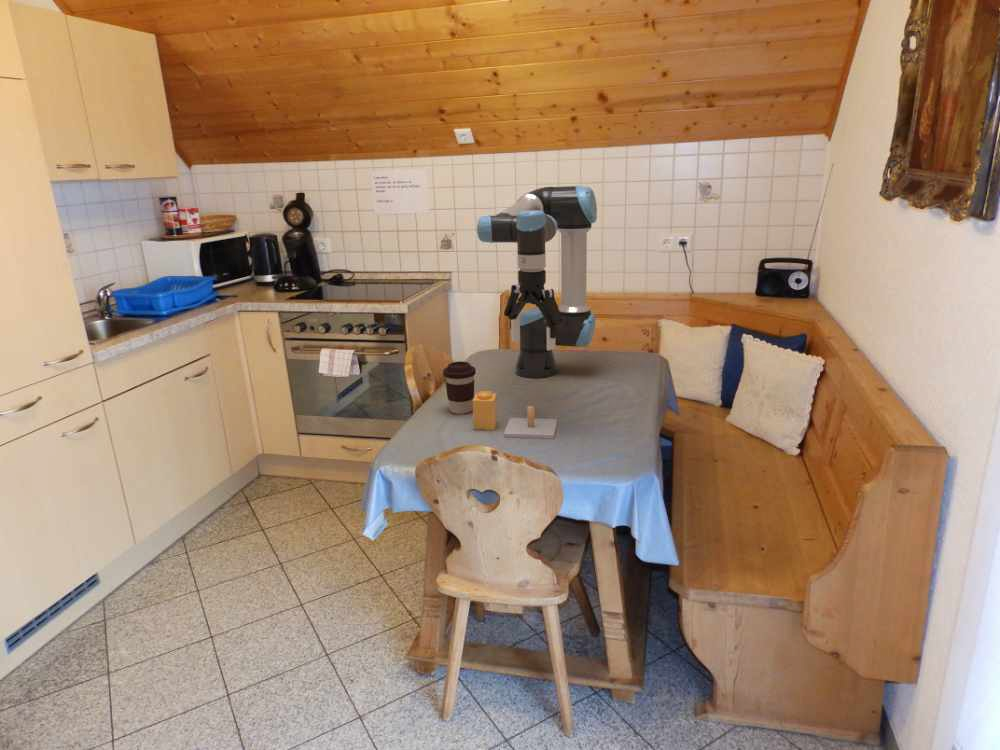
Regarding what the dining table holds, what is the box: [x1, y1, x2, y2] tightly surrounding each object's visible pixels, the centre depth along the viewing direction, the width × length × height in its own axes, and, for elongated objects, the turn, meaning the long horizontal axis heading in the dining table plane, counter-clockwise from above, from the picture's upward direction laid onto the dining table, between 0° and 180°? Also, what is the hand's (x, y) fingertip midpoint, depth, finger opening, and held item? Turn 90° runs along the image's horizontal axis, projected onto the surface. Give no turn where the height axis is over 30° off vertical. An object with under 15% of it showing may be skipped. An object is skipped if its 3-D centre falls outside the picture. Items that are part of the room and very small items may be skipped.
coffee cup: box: [442, 361, 477, 415], centre depth 208 cm, size 10×10×15 cm
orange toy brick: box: [472, 390, 499, 431], centre depth 196 cm, size 6×6×10 cm
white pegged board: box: [503, 405, 558, 440], centre depth 193 cm, size 12×14×7 cm
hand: (533, 345), depth 189 cm, fingers open, 13 cm apart
